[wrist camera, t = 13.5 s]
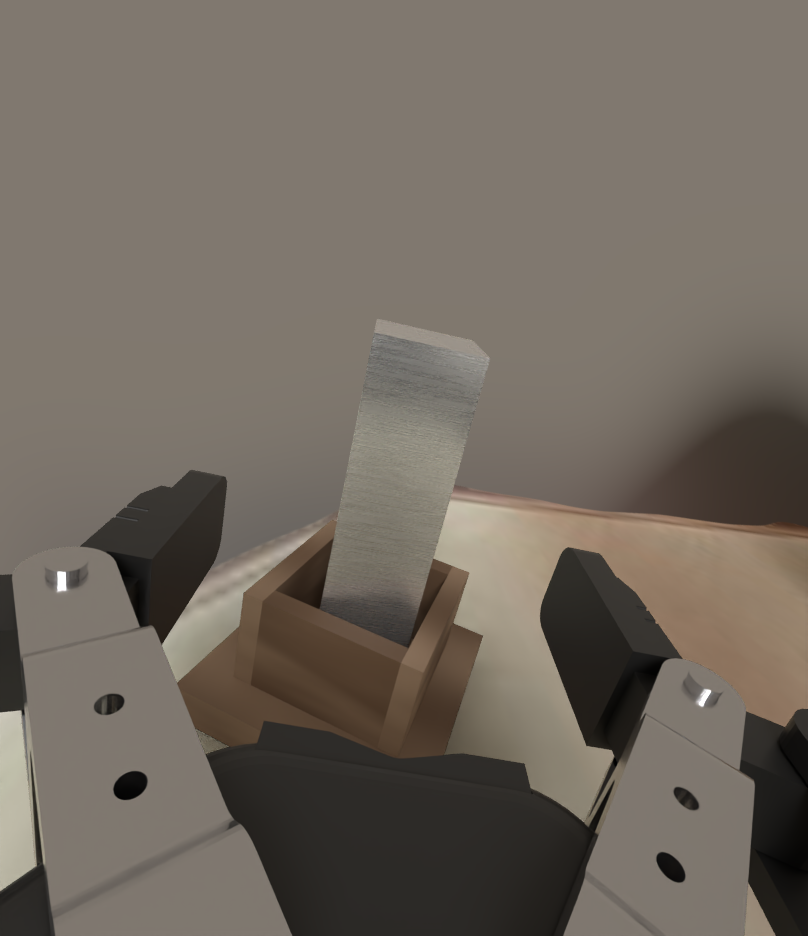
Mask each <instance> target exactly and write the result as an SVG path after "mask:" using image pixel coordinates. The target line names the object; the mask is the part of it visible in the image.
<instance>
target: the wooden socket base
mask: <svg viewBox="0 0 808 936" xmlns="http://www.w3.org/2000/svg"><path fill="white" fill-rule="evenodd" d="M336 524H337V521H334V520H331V521H330V522H329V523H328V524H327V525H325V526H324V527H323V528H322V529H321V530H319V531H318V532H317V533H316V534H315V535H313V536H312V537H311V538H310V539H308V540H307V541H306V542H305V543H304V544H302V545H301V546H300V547H299V548H298V549H296V550H295V551H294V552H293V553H292V554H290V555H289V556H288V557H287V558H285V559H284V560H283V561H282V562H281V563H279V564H278V565H277V566H276V567H275V568H273V569H272V570H271V571H270V572H269V573H267V574H266V575H265V576H264V577H263V578H261V579H260V580H259V581H258V582H256V583H255V584H254V585H253V586H252V587H250V588H249V589H248V590H247V591H246V592H244V595H243V603H242V611H241V619H240V626H239V627H238V628H237V629H236V630H235V631H234V632H233V633H232V634H230V635H229V636H228V637H227V638H226V639H225V640H224V641H223V642H222V643H221V644H219V645H218V646H217V647H216V648H215V649H214V650H213V651H212V652H211V653H210V654H208V655H207V656H206V657H205V658H204V659H203V660H202V661H201V662H200V663H199V664H197V665H196V666H195V667H194V668H193V669H192V670H191V671H190V672H189V673H188V674H186V675H185V676H184V677H183V678H182V679H181V680H180V681H179V682H178V683H177V685H178V687H179V690H180V692H181V695H182V697H183V700H184V702H185V705H186V707H187V710H188V712H189V715H190V717H191V720H192V722H193V725H194V727H195V728H196V729H198V730H200V731H202V732H204V733H205V734H207V735H209V736H211V737H213V738H215V739H217V740H219V741H220V742H222V743H224V744H226V745H228V746H230V747H232V746H237V745H243V744H252V743H257V742H258V738H259V735H260V732H261V729H262V725H263V722H264V721H269V722H275V723H281V724H287V725H293V726H299V727H305V728H311V729H317V730H323V731H329V732H332V733H335V734H337V735H340V736H342V737H344V738H347V739H349V740H352V741H354V742H357V743H359V744H361V745H364V746H366V747H369V748H371V749H374V750H376V751H378V752H381V753H383V754H386V755H388V756H391V757H394V758H415V757H427V756H439V755H444V753H445V750H446V747H447V744H448V741H449V738H450V735H451V732H452V729H453V725H454V722H455V719H456V716H457V713H458V710H459V707H460V704H461V701H462V698H463V695H464V692H465V689H466V686H467V683H468V680H469V677H470V674H471V671H472V668H473V665H474V662H475V659H476V656H477V653H478V650H479V647H480V644H481V641H482V637H483V636H482V635H480V634H477V633H475V632H473V631H470V630H468V629H465V628H463V627H460V626H458V625H456V624H453V622H454V619H455V616H456V613H457V610H458V607H459V603H460V600H461V597H462V594H463V591H464V588H465V585H466V582H467V578H468V575H469V572H466V571H463V570H461V569H458V568H456V567H453V566H451V565H448V564H445V563H443V562H440V561H438V560H435V559H433V561H432V564H431V568H430V571H429V575H428V578H427V582H426V585H425V589H424V592H423V596H422V599H421V603H420V606H419V610H418V613H417V617H416V620H415V624H414V627H413V631H412V634H411V638H410V641H409V645H408V648H407V647H404V646H402V645H400V644H397V643H395V642H393V641H391V640H388V639H386V638H384V637H381V636H379V635H377V634H374V633H372V632H370V631H368V630H365V629H363V628H361V627H358V626H356V625H354V624H352V623H349V622H347V621H345V620H342V619H340V618H338V617H335V616H333V615H331V614H329V613H326V612H324V611H322V610H320V606H321V601H322V596H323V591H324V586H325V581H326V575H327V570H328V565H329V560H330V555H331V550H332V545H333V540H334V535H335V530H336Z"/></svg>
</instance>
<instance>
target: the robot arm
mask: <svg viewBox="0 0 808 936" xmlns="http://www.w3.org/2000/svg"><path fill="white" fill-rule="evenodd" d="M226 488H227V480H226V477H224V476H219V475H214V474H210V473H205V472H200V471H195V470H190V471H189V472H188V473H187V474H186V475H185V476H184V477H183V478H182V479H181V480H180V481H178V482H177V484H175V485H174V486H173V487H172V488H170V487H165V486H160V487H157V488H154V489H152V490H149V491H146V492H144V493H141V494H140V495H138V496H137V497H136V498H135V499H134V500H133V501H132V502H131V503H129V504H128V505H127V508H124V509H122V510H121V511H120V512H119V513H118V514H117V515H116V518H112V519H111V520H110V521H109V522H107V523H106V524H105V525H104V526H103V527H102V528H101V529H100V530H98V531H97V532H96V533H95V534H94V535H93V536H91V537H90V538H89V539H88V540H87V541H86V542H85V543H83V544H82V545H81V546H80V547H61V548H55V549H51V550H47V551H43V552H40V553H37V554H35V555H33V556H31V557H29V558H27V559H26V560H24V561H23V562H22V563H20V564H19V565H18V566H17V567H16V569H15V570H14V572H13V574H12V575H0V712H8V711H18V710H21V719H22V729H23V739H24V749H25V760H26V770H27V780H28V790H29V800H30V811H31V822H32V835H33V847H34V859H35V867H34V868H33V869H32V870H30V871H29V872H27V873H26V874H24V875H23V876H22V877H20V878H19V879H17V880H16V881H14V882H13V883H12V884H10V885H9V886H7V887H6V888H4V889H3V890H2V891H0V936H744V931H745V917H746V903H747V889H748V883H749V884H750V886H751V888H752V890H753V892H754V894H755V896H756V898H757V900H758V902H759V904H760V906H761V908H762V910H763V912H764V914H765V916H766V918H767V920H768V922H769V924H770V925H771V927H772V929H773V931H774V933H775V935H776V936H808V709H800V710H797V711H796V712H795V714H794V715H793V716H792V718H791V719H790V721H789V722H788V724H787V725H786V727H783V726H781V725H778V724H776V723H773V722H771V721H769V720H766V719H764V718H761V717H759V716H756V715H754V714H751V713H749V712H746V707H745V704H744V702H743V700H742V698H741V697H740V695H739V694H738V693H737V691H736V690H735V689H734V688H733V687H732V686H731V685H730V684H729V683H728V682H726V681H725V680H724V679H723V678H721V677H720V676H719V675H717V674H716V673H714V672H712V671H711V670H709V669H707V668H705V667H703V666H701V665H699V664H697V663H694V662H691V661H688V660H684V659H682V657H681V656H680V655H679V653H678V652H677V650H676V649H675V648H674V646H673V645H672V643H671V642H670V640H669V639H668V638H667V636H666V635H665V633H664V632H663V631H662V629H661V628H660V626H659V625H658V624H656V623H655V619H654V618H653V616H652V615H651V614H650V612H649V611H646V607H645V605H644V604H643V602H642V601H641V599H640V598H639V597H638V595H637V594H636V593H635V592H634V591H633V590H632V589H631V588H630V587H628V586H627V585H626V584H625V583H624V582H622V581H621V580H620V579H619V578H616V576H615V575H614V573H613V572H612V570H611V569H610V567H609V566H608V564H607V563H606V561H605V560H604V558H603V557H602V556H601V555H600V554H599V553H594V552H589V551H584V550H579V549H574V548H569V547H568V548H566V549H565V550H564V551H563V552H562V554H561V556H560V558H559V560H558V563H557V566H556V568H555V571H554V573H553V576H552V578H551V581H550V583H549V586H548V588H547V591H546V594H545V596H544V599H543V601H542V605H541V612H540V622H541V627H542V630H543V633H544V635H545V638H546V640H547V643H548V646H549V648H550V651H551V654H552V656H553V659H554V662H555V664H556V667H557V669H558V672H559V675H560V677H561V680H562V683H563V685H564V688H565V690H566V693H567V696H568V698H569V701H570V704H571V706H572V709H573V711H574V714H575V717H576V719H577V722H578V725H579V727H580V730H581V732H582V735H583V738H584V740H585V743H586V746H591V747H597V748H603V749H609V750H612V751H613V754H614V757H613V759H612V761H611V763H610V765H609V767H608V769H607V771H606V773H605V775H604V778H603V780H602V782H601V785H600V787H599V789H598V792H597V794H596V796H595V798H594V801H593V803H592V805H591V808H590V810H589V812H588V815H587V817H586V819H585V822H583V821H582V820H580V819H579V818H578V817H577V816H575V815H574V814H573V813H571V812H570V811H569V810H568V809H566V808H565V807H563V806H562V805H560V804H559V803H557V802H556V801H554V800H553V799H551V798H549V797H547V796H545V795H543V794H542V793H540V792H538V791H535V790H533V789H531V788H530V784H529V780H528V776H527V772H526V768H525V764H523V763H517V762H511V761H505V760H499V759H493V758H487V757H481V756H475V755H469V754H451V755H439V756H427V757H415V758H394V757H391V756H388V755H386V754H383V753H381V752H378V751H376V750H374V749H371V748H369V747H366V746H364V745H361V744H359V743H357V742H354V741H352V740H349V739H347V738H344V737H342V736H340V735H337V734H335V733H332V732H329V731H323V730H317V729H311V728H305V727H299V726H293V725H287V724H281V723H275V722H269V721H264V722H263V725H262V729H261V732H260V735H259V738H258V742H257V743H252V744H243V745H237V746H232V747H227V748H224V749H221V750H217V751H214V752H211V753H208V754H206V755H205V752H204V750H203V747H202V745H201V742H200V740H199V737H198V735H197V732H196V730H195V727H194V725H193V722H192V720H191V717H190V715H189V712H188V710H187V707H186V705H185V702H184V700H183V697H182V695H181V692H180V690H179V687H178V685H177V682H176V680H175V677H174V675H173V672H172V670H171V667H170V665H169V662H168V660H167V657H166V655H165V652H164V650H163V647H162V643H163V642H164V640H165V639H166V637H167V636H168V634H169V632H170V631H171V629H172V628H173V626H174V625H175V623H176V621H177V620H178V618H179V617H180V615H181V614H182V612H183V610H184V609H185V607H186V606H187V604H188V603H189V601H190V599H191V598H192V596H193V595H194V593H195V592H196V590H197V588H198V587H199V585H200V584H201V582H202V581H203V579H204V577H205V576H206V574H207V573H208V571H209V570H210V568H211V566H212V565H213V563H214V561H215V559H216V556H217V553H218V550H219V546H220V542H221V535H222V526H223V517H224V508H225V498H226Z"/></svg>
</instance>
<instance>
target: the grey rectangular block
mask: <svg viewBox="0 0 808 936" xmlns="http://www.w3.org/2000/svg"><path fill="white" fill-rule="evenodd" d="M489 360H490V358H489V357H488V356H487V355H486V354H485V353H484V352H483V351H482V350H481V349H480V347H479V346H478V345H476V343H475V342H473V340H468V339H464V338H460V337H455V336H451V335H446V334H442V333H437V332H433V331H429V330H424V329H420V328H415V327H411V326H407V325H402V324H398V323H393V322H389V321H385V320H380V319H377V322H376V327H375V331H374V336H373V341H372V346H371V351H370V356H369V361H368V366H367V372H366V377H365V382H364V387H363V392H362V397H361V402H360V407H359V412H358V417H357V423H356V428H355V433H354V438H353V443H352V448H351V453H350V458H349V463H348V468H347V474H346V479H345V484H344V489H343V494H342V499H341V504H340V509H339V514H338V519H337V524H336V530H335V535H334V540H333V545H332V550H331V555H330V560H329V565H328V570H327V575H326V581H325V586H324V591H323V596H322V601H321V606H320V610H322V611H324V612H326V613H329V614H331V615H333V616H335V617H338V618H340V619H342V620H345V621H347V622H349V623H352V624H354V625H356V626H358V627H361V628H363V629H365V630H368V631H370V632H372V633H374V634H377V635H379V636H381V637H384V638H386V639H388V640H391V641H393V642H395V643H397V644H400V645H402V646H404V647H407V648H408V645H409V641H410V638H411V634H412V631H413V627H414V624H415V620H416V617H417V613H418V610H419V606H420V603H421V599H422V596H423V592H424V589H425V585H426V582H427V578H428V575H429V571H430V568H431V564H432V561H433V557H434V554H435V550H436V547H437V543H438V540H439V536H440V533H441V529H442V526H443V522H444V519H445V515H446V511H447V508H448V504H449V501H450V497H451V494H452V490H453V487H454V483H455V480H456V476H457V473H458V469H459V466H460V462H461V458H462V455H463V452H464V448H465V445H466V441H467V438H468V434H469V431H470V427H471V424H472V420H473V417H474V413H475V410H476V406H477V402H478V399H479V396H480V392H481V389H482V385H483V382H484V378H485V375H486V371H487V368H488V364H489Z"/></svg>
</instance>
